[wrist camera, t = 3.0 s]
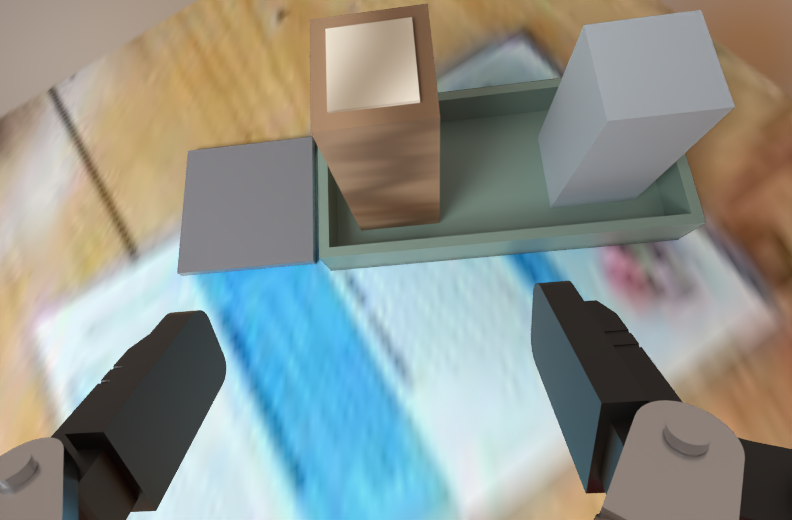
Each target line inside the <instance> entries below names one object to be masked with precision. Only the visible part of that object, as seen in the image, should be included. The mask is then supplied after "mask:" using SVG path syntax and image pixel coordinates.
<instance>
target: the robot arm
mask: <svg viewBox="0 0 792 520" xmlns="http://www.w3.org/2000/svg"><path fill="white" fill-rule="evenodd" d="M531 345H532V352H533V357H534V361H535V363H536V366H537V369H538V371H539V374H540V376H541V379H542V382H543V384H544V387H545V389H546V392H547V394H548V397H549V400H550V402H551V405H552V407H553V410H554V412H555V415H556V418H557V420H558V423H559V425H560V428H561V430H562V433H563V436H564V438H565V441H566V443H567V446H568V448H569V451H570V454H571V456H572V459H573V461H574V464H575V467H576V469H577V472H578V474H579V477H580V479H581V482H582V485H583V487H584V490H585V492H586V493H606V498H605V500H604V503H603V506H602V509H601V511H600V513H599V514H597V515H596V516H595V518H594V520H792V449H788V448H783V447H778V446H772V445H767V444H762V443H757V442H752V441H748V440H744V439H741V438H738V437H737V436H736V435H735V434H734V432H733V431H732V430H731V429H730V428H729V427H728V426H727V425H726V424H724V423H723V422H722V421H721V420H719V419H718V418H716V417H715V416H713V415H712V414H710V413H708V412H706V411H704V410H703V409H700V408H698V407H695V406H693V405H689V404H686V403H683V402H682V401H681V400H680V398H679V397H678V396H677V394H676V393H675V391H674V390H673V389H672V387H671V386H670V385H669V383H668V382H667V381H666V379H665V378H664V377H663V375H662V374H661V373H660V371H659V370H658V369H657V367H656V366H655V365H654V363H653V362H652V361H651V359H650V358H649V357H648V355H647V354H646V353H645V351H644V350H643V349H642V347H639V343H638V342H637V341H636V339H635V338H634V337H633V335H632V334H631V333H629V331H628V328H627V327H626V326H625V324H624V323H623V322H622V320H621V319H620V318H619V316H618V315H617V314H616V313H615V312H613V311H612V310H610V309H609V308H607V307H606V306H604V305H603V304H601V303H600V302H598V301H597V300H596V301H583V299H582V298H581V296H580V294H579V293H578V291H577V290H576V288H575V287H574V285H573V284H572V283H571V282H570V281H560V282H548V283H537V284H535V286H534V290H533V307H532V326H531ZM113 367H114V369H112V370H110V371H109V372H108V373H107V374H106V375H105V376H104V377H103V379H102V380H101V384H97V385H96V387H95V388H94V389H93V390H92V391H91V392H90V393H89V395H88V396H87V397H86V398H85V399H84V400H83V401H82V402H81V404H80V405H79V406H78V407H77V408H76V409H75V410H74V412H73V413H72V414H71V415H70V416H69V417H68V418H67V419H66V421H65V422H64V423H63V424H62V425H61V426H60V427H59V429H58V430H57V431H56V432H55V433H54V434H53V435H52V436H51V438H49V437H48V438H40V439H35V440H32V441H29V442H26V443H24V444H22V445H19V446H17V447H15V448H13V449H11V450H10V451H8V452H6V453H5V454H3V455H1V456H0V520H126V519H127V517H128V515H129V514H130V512H139V511H156V510H157V508H158V506H159V504H160V502H161V500H162V498H163V497H164V495H165V493H166V491H167V489H168V487H169V485H170V483H171V481H172V479H173V478H174V476H175V474H176V472H177V470H178V468H179V466H180V464H181V462H182V460H183V458H184V457H185V455H186V453H187V451H188V449H189V447H190V445H191V443H192V441H193V439H194V438H195V436H196V434H197V432H198V430H199V428H200V426H201V424H202V422H203V420H204V419H205V417H206V415H207V413H208V411H209V409H210V407H211V405H212V403H213V401H214V399H215V398H216V396H217V394H218V392H219V390H220V388H221V386H222V384H223V382H224V379H225V375H226V361H225V357H224V355H223V352H222V350H221V347H220V345H219V342H218V340H217V337H216V335H215V332H214V330H213V328H212V325H211V323H210V320H209V318H208V316H207V314H206V313H205V312H203V311H201V310H198V311H186V312H174V313H169V314H167V315H166V316H165V317H164V318H163V319H162V320H161V322H160V323H159V324H158V325H157V326H156V327H155V329H154V330H153V331H152V332H151V333H150V335H148V336H146V337H145V338H143V339H142V340H141V341H139V342H138V343H137V344H135V345H134V346H132V347H131V348H130V349H128V350H127V351H126V353H125V354H124V355H123V356H122V357H121V358H120V359H119V360H118V362H117V363H116V364H115V365H114V366H113Z"/></svg>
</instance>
